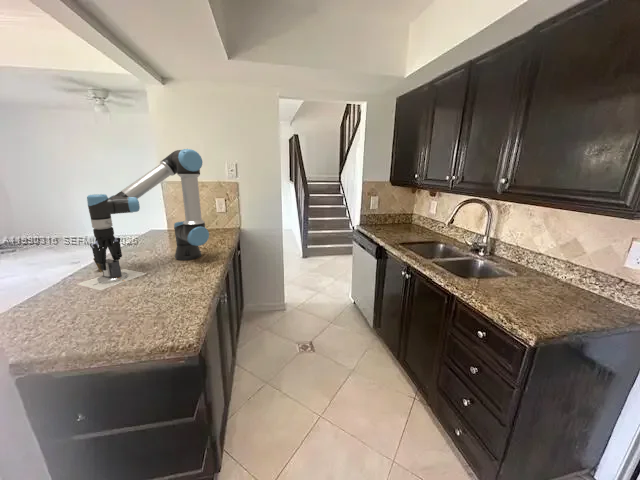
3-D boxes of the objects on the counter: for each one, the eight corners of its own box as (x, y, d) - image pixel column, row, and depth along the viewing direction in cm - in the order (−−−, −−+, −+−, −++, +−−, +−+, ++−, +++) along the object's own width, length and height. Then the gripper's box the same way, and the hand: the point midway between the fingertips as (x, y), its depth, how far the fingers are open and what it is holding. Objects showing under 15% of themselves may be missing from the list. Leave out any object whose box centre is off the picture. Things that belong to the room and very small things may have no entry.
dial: (91, 280, 130) (88, 263, 128) (118, 272, 141) (114, 256, 139) (107, 284, 126) (103, 266, 123) (133, 275, 136) (130, 259, 134)
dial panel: (124, 271, 147) (123, 268, 146) (147, 276, 140) (146, 273, 140) (76, 287, 127) (75, 283, 127) (100, 293, 121) (100, 290, 120)
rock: (95, 265, 149) (84, 269, 140) (104, 252, 150) (94, 255, 140) (114, 275, 152) (105, 280, 142) (124, 263, 152) (115, 266, 143)
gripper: (90, 231, 118) (101, 281, 124) (126, 224, 135) (133, 268, 140) (77, 231, 120) (88, 280, 125) (113, 223, 136) (121, 267, 142)
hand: (112, 274), depth 133 cm, fingers closed on dial, 4 cm apart
